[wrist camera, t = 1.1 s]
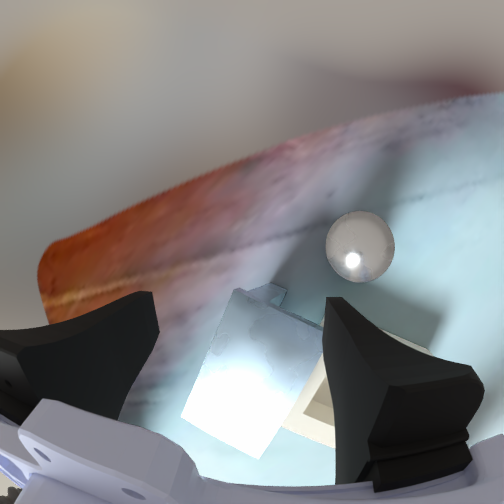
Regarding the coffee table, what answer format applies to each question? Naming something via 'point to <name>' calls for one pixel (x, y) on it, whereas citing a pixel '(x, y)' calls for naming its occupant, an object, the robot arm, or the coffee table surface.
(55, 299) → the coffee table surface
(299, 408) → the socket block
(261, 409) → the grey arch block
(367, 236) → the peg
